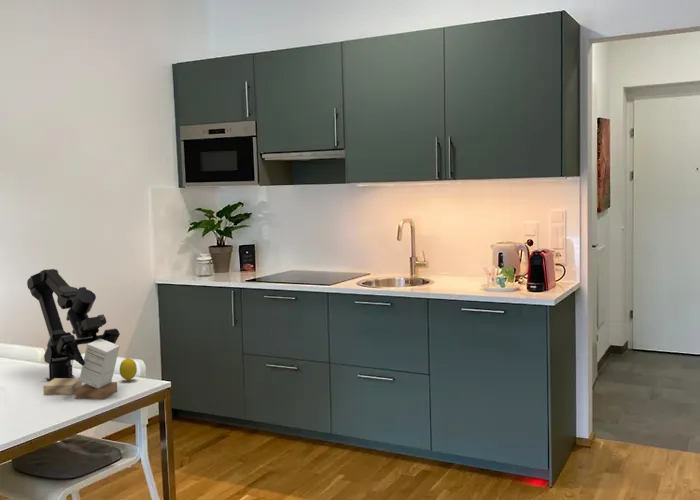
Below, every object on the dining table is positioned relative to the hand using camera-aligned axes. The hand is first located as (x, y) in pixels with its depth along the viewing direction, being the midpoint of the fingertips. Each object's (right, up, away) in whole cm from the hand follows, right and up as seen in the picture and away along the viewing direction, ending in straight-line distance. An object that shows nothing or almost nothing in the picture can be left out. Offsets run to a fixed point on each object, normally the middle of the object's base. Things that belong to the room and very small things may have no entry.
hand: (98, 362), depth 222 cm
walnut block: (-1, -11, +2) cm, 11 cm away
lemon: (+4, -9, +18) cm, 21 cm away
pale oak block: (-13, -10, +6) cm, 18 cm away
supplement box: (-1, -7, +1) cm, 7 cm away
